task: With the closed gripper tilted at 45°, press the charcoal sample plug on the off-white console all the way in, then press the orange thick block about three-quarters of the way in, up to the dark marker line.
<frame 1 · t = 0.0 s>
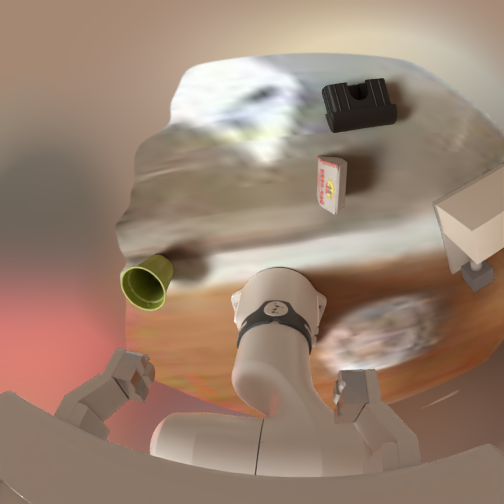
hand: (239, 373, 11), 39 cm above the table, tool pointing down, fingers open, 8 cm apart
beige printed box: (328, 176, 44), on the table
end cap: (353, 106, 39), on the table
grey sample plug: (477, 270, 39), point 8 cm above the table, slide at 0.0 cm
plant pot: (161, 266, 56), on the table
plug console: (482, 215, 42), on the table
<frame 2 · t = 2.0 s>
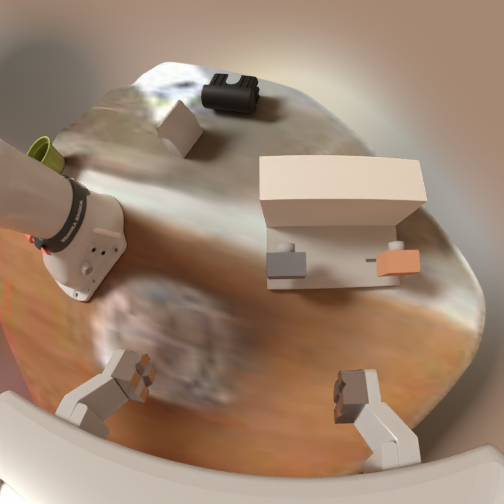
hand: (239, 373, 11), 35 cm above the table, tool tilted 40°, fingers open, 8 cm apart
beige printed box: (186, 142, 53), on the table
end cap: (234, 106, 53), on the table
orange thick block: (397, 258, 36), point 8 cm above the table, slide at 0.0 cm
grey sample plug: (286, 261, 38), point 8 cm above the table, slide at 0.0 cm
plant pot: (57, 167, 57), on the table
plug console: (333, 239, 46), on the table
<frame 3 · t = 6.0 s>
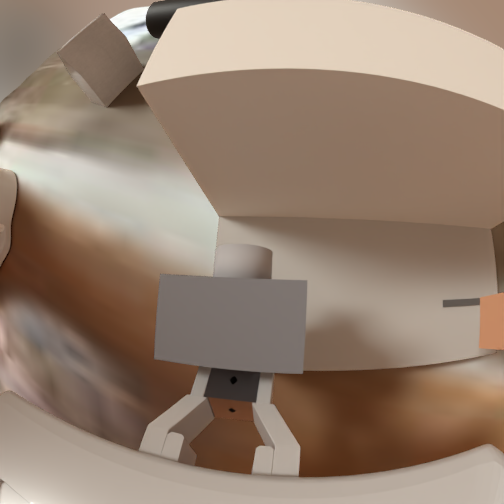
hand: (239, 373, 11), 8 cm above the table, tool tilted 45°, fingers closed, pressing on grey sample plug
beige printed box: (118, 86, 28), on the table
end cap: (200, 35, 29), on the table
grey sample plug: (240, 305, 11), point 8 cm above the table, slide at 0.3 cm, touching gripper
plug console: (373, 253, 19), on the table
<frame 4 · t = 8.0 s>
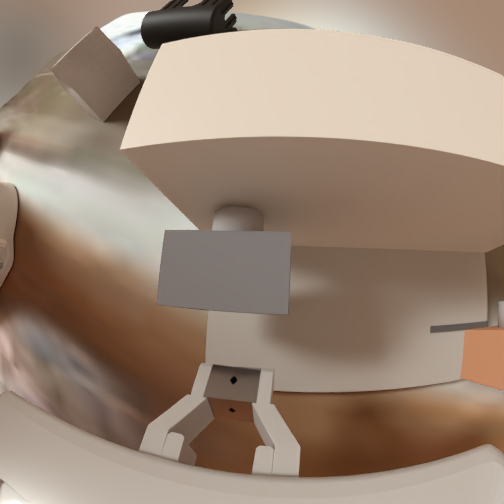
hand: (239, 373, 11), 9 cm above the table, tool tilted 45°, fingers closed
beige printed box: (114, 99, 28), on the table
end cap: (197, 45, 29), on the table
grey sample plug: (235, 262, 13), point 8 cm above the table, slide at 4.1 cm
plug console: (364, 279, 20), on the table
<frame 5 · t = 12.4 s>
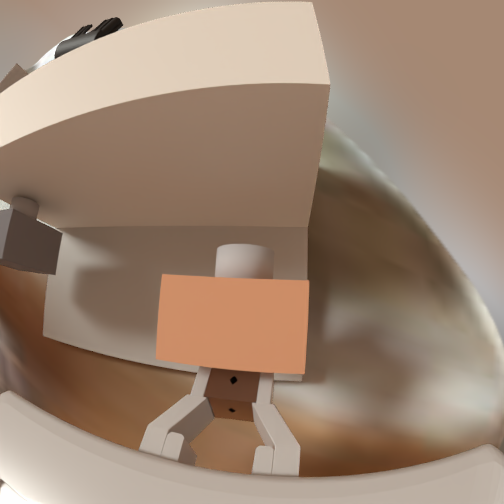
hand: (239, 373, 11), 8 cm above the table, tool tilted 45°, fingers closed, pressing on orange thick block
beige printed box: (38, 118, 30), on the table
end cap: (101, 63, 30), on the table
orange thick block: (242, 305, 11), point 8 cm above the table, slide at 1.0 cm, touching gripper
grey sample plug: (18, 233, 14), point 8 cm above the table, slide at 4.1 cm
plug console: (158, 256, 21), on the table
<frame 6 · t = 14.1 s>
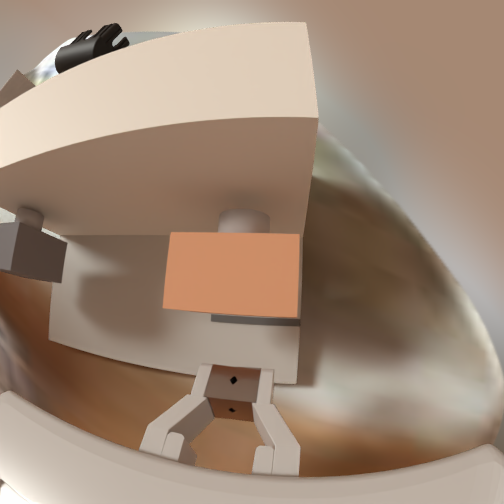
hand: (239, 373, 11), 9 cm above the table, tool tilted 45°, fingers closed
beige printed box: (39, 123, 31), on the table
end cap: (101, 69, 31), on the table
orange thick block: (241, 265, 13), point 8 cm above the table, slide at 3.3 cm
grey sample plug: (24, 243, 15), point 8 cm above the table, slide at 4.1 cm
plug console: (160, 264, 22), on the table
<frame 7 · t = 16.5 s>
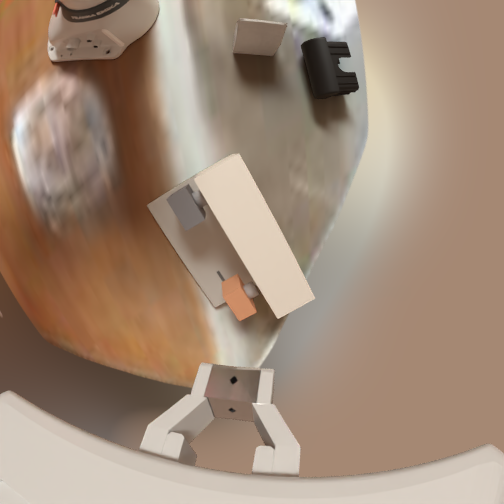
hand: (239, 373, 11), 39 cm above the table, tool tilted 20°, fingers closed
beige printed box: (253, 45, 39), on the table
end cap: (319, 73, 42), on the table
orange thick block: (242, 294, 44), point 8 cm above the table, slide at 3.3 cm
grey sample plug: (191, 203, 38), point 8 cm above the table, slide at 4.1 cm
plug console: (221, 233, 49), on the table
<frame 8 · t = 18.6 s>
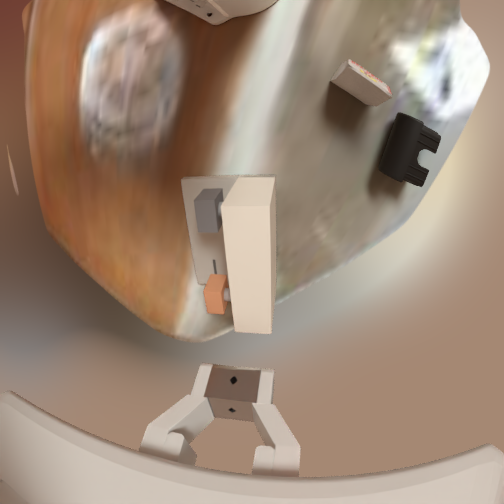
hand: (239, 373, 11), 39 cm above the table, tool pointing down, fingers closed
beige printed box: (353, 83, 36), on the table
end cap: (399, 145, 40), on the table
orange thick block: (221, 294, 50), point 8 cm above the table, slide at 3.3 cm
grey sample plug: (215, 209, 42), point 8 cm above the table, slide at 4.1 cm
plug console: (232, 232, 52), on the table
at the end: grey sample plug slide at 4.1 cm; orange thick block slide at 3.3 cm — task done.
